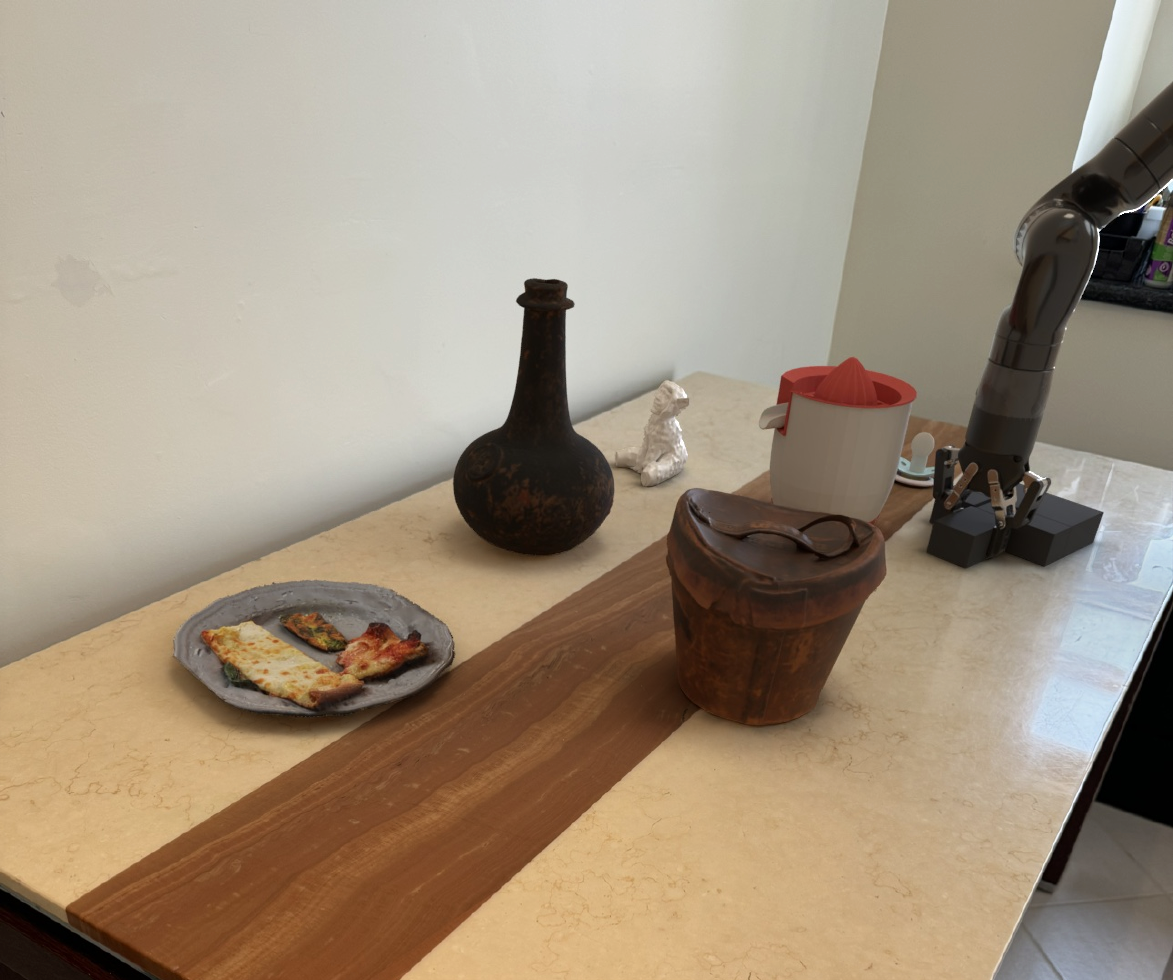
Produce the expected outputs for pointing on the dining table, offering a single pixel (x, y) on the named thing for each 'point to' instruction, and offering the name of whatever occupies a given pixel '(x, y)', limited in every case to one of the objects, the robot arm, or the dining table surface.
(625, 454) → the seated beast figurine
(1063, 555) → the socket pad
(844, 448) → the citrus juicer
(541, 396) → the glass bottle
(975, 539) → the pad
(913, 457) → the pacifier
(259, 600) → the food plate
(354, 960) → the dining table surface
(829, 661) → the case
